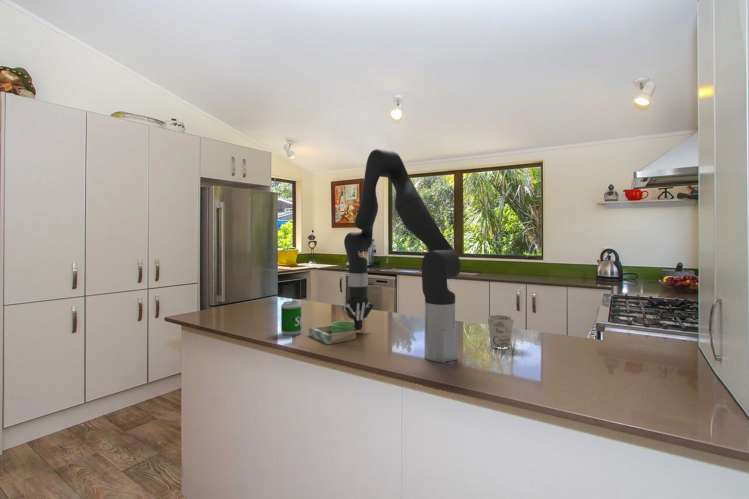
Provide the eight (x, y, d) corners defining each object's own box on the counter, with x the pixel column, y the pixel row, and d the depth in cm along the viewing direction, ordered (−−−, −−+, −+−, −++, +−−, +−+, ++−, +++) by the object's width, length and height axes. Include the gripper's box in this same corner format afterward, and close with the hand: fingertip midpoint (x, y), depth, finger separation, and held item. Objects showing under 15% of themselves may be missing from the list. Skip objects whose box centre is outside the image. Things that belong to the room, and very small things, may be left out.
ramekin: (356, 332, 155) (356, 321, 155) (352, 338, 146) (352, 326, 146) (333, 332, 156) (333, 320, 156) (328, 338, 147) (328, 326, 147)
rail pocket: (376, 335, 150) (376, 327, 150) (327, 344, 139) (327, 335, 139) (355, 328, 162) (355, 320, 162) (309, 335, 151) (309, 327, 151)
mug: (484, 348, 134) (485, 318, 134) (492, 339, 146) (492, 312, 145) (510, 352, 131) (511, 321, 130) (516, 342, 142) (517, 314, 141)
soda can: (290, 337, 148) (290, 305, 147) (277, 334, 152) (276, 302, 152) (305, 333, 154) (305, 302, 153) (292, 330, 158) (292, 300, 158)
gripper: (348, 287, 147) (348, 334, 148) (377, 284, 155) (377, 329, 155) (338, 284, 153) (338, 329, 154) (367, 282, 161) (367, 325, 162)
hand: (358, 329), depth 155 cm, fingers closed
